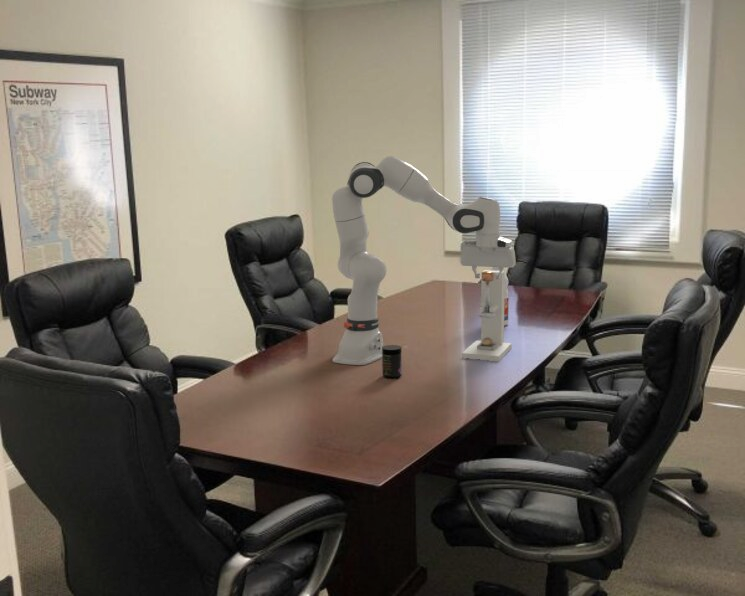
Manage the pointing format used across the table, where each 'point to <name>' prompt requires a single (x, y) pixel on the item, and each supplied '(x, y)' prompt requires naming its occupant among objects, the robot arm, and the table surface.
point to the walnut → (487, 342)
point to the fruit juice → (506, 297)
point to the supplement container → (391, 361)
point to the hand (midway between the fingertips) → (487, 278)
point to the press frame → (491, 324)
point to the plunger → (487, 294)
